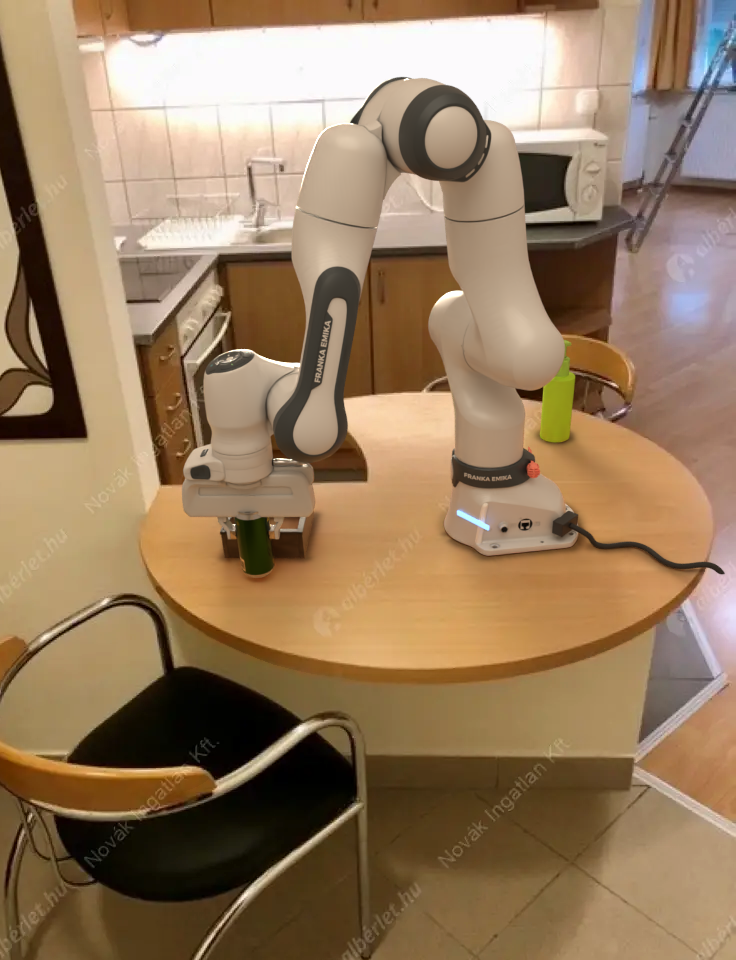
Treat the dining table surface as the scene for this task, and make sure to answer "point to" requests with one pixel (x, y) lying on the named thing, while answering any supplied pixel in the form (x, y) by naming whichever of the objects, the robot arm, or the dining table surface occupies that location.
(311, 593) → the dining table surface
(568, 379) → the soap dispenser
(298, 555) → the basket
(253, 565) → the beer can
